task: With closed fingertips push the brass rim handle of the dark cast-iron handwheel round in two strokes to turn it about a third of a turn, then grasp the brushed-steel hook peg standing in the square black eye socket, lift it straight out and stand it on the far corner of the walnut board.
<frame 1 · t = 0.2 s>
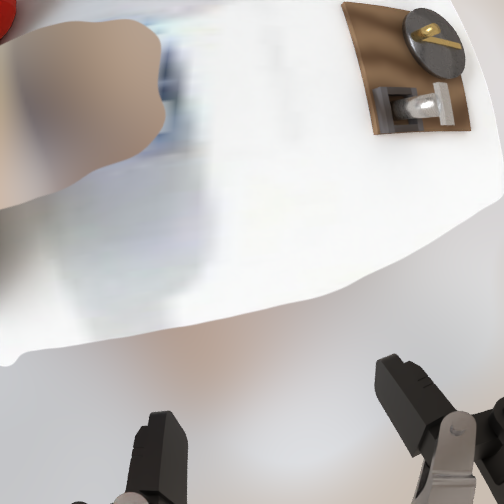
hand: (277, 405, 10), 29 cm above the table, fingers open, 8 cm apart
tomato: (0, 29, 21), on the table
board: (414, 68, 32), on the table
handwheel: (446, 39, 26), point 6 cm above the table, hinge at 0.0°
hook: (394, 110, 33), point 1 cm above the table, touching board
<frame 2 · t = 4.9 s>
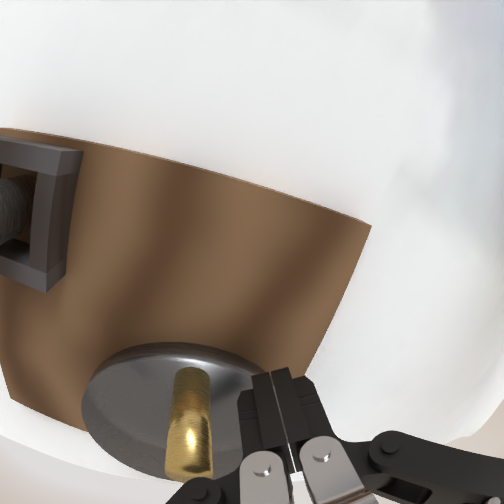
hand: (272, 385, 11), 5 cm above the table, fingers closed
board: (132, 336, 15), on the table
handwheel: (183, 464, 12), point 6 cm above the table, hinge at 5.6°, touching gripper
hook: (24, 202, 11), point 1 cm above the table, touching board
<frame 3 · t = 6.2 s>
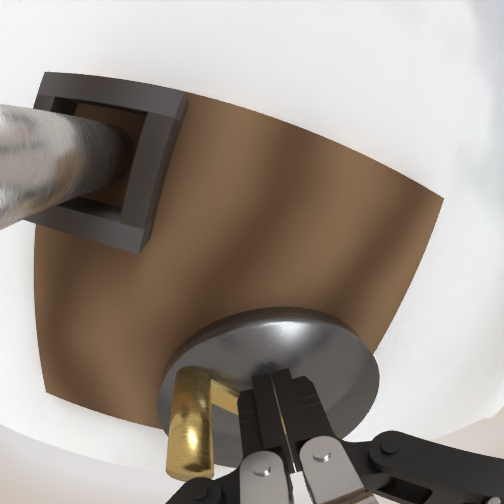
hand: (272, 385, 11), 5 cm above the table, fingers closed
board: (213, 309, 16), on the table
handwheel: (279, 442, 12), point 6 cm above the table, hinge at 67.1°, touching gripper
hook: (103, 154, 11), point 1 cm above the table, touching board
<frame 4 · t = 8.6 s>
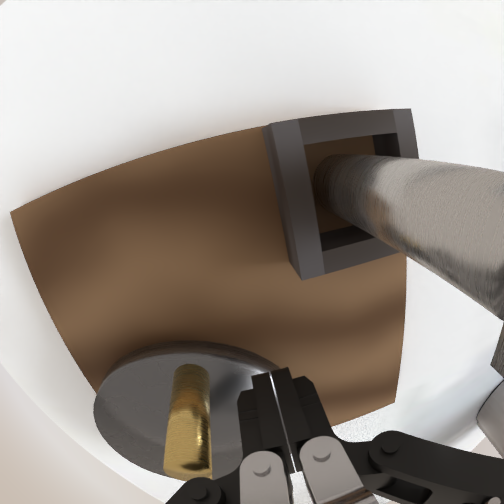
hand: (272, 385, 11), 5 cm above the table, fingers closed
board: (236, 332, 16), on the table
handwheel: (199, 463, 12), point 6 cm above the table, hinge at 74.7°, touching gripper
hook: (340, 183, 13), point 1 cm above the table, touching board
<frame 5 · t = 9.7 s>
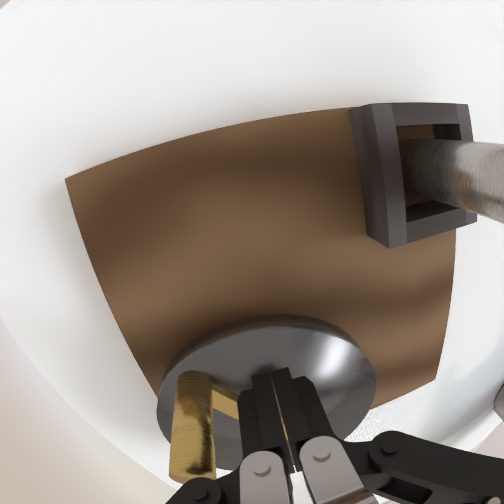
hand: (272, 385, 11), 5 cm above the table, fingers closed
board: (307, 308, 16), on the table
handwheel: (277, 446, 12), point 6 cm above the table, hinge at 124.8°, touching gripper
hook: (409, 165, 13), point 1 cm above the table, touching board
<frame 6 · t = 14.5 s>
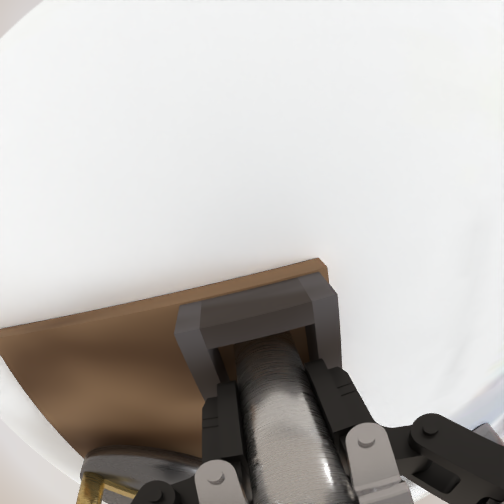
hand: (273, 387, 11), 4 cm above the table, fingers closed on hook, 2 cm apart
board: (186, 429, 17), on the table
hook: (263, 345, 14), point 1 cm above the table, touching board, gripper
when the fingers open (5 cm above the table, at t = 20.0 s): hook stays where it is, resting on board.
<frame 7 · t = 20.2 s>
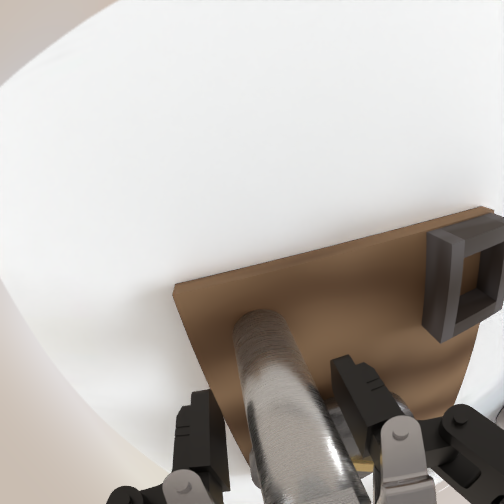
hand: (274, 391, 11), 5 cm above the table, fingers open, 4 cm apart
board: (366, 374, 18), on the table
handwheel: (345, 480, 14), point 6 cm above the table, hinge at 132.0°
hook: (260, 333, 14), point 1 cm above the table, touching board
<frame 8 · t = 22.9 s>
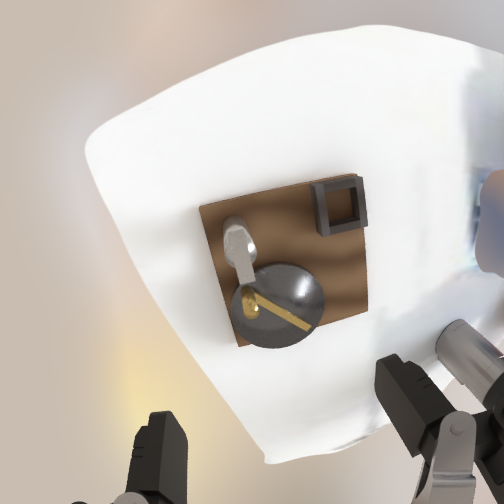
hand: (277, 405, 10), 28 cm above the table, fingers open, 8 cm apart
board: (293, 263, 39), on the table
handwheel: (282, 317, 35), point 6 cm above the table, hinge at 132.0°
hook: (234, 226, 35), point 1 cm above the table, touching board
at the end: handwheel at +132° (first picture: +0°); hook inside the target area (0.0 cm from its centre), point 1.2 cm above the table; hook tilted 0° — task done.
